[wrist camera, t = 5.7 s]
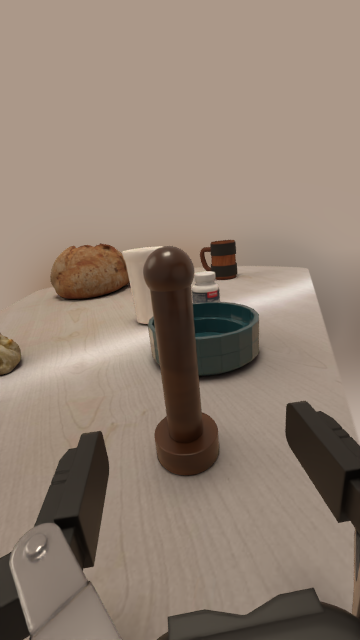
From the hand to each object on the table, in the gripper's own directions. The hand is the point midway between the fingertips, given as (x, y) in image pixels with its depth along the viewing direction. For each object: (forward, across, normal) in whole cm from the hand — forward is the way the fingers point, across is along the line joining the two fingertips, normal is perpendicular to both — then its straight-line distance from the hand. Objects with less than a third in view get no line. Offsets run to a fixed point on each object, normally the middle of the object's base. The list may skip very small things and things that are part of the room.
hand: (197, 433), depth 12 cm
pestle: (+9, 0, +9) cm, 13 cm away
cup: (+44, +3, +10) cm, 45 cm away
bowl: (+27, -5, +9) cm, 29 cm away
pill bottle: (+42, -8, +10) cm, 44 cm away
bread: (+83, +21, +10) cm, 86 cm away
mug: (+81, -20, +10) cm, 84 cm away
